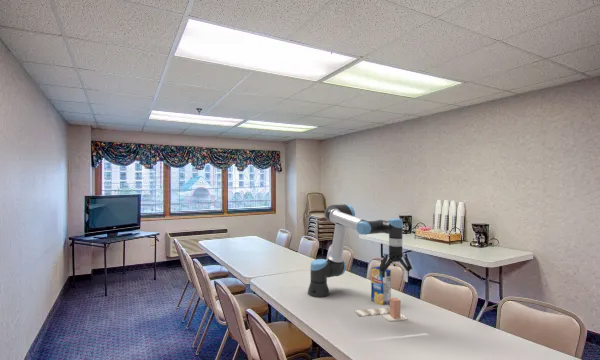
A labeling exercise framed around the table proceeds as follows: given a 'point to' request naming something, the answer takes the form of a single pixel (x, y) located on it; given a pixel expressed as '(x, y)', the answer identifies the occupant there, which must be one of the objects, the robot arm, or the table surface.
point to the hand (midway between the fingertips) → (395, 282)
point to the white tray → (372, 312)
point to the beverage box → (380, 286)
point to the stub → (395, 311)
